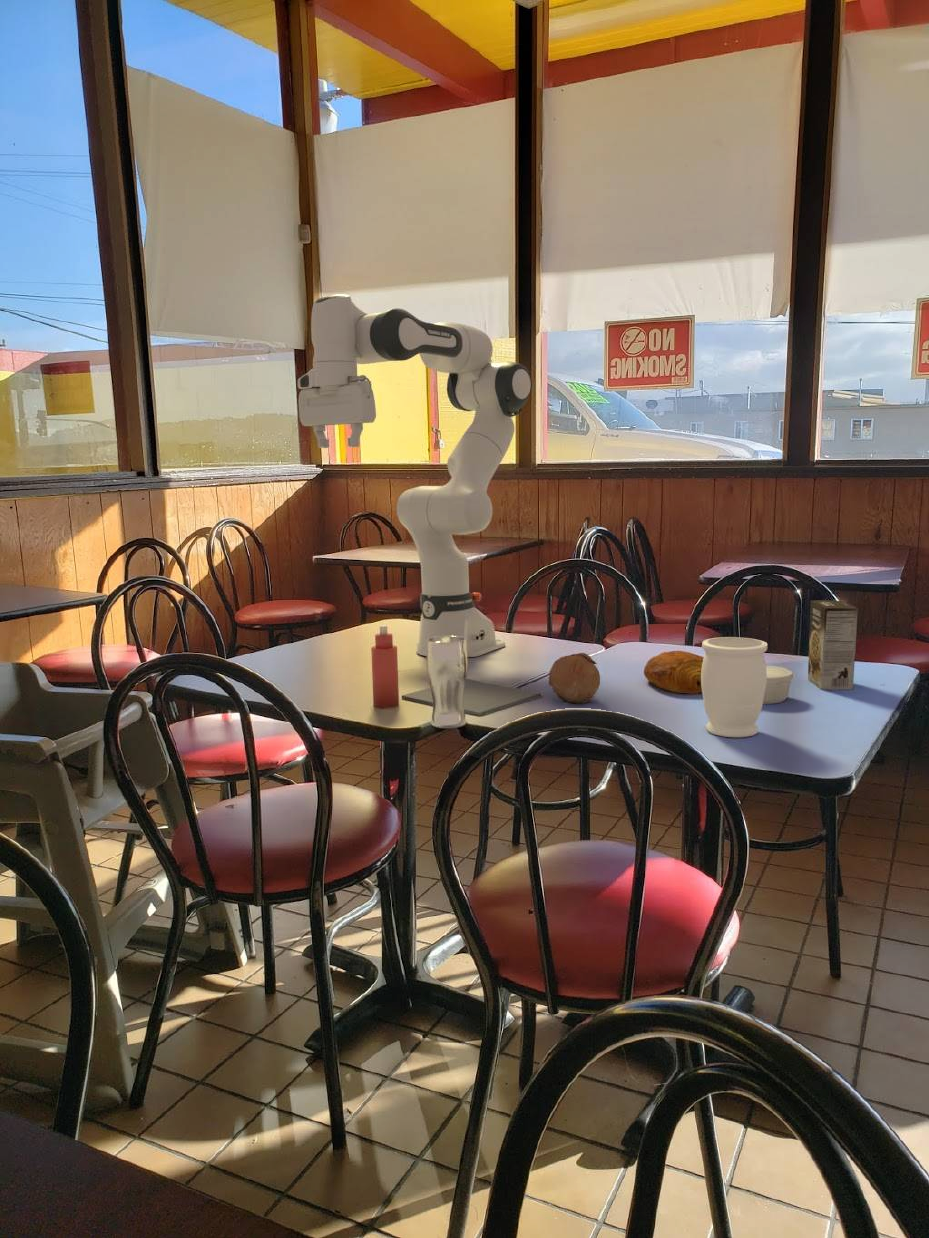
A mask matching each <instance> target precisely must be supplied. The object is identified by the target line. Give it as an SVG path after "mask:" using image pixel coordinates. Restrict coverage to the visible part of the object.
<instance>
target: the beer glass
mask: <svg viewBox="0 0 929 1238" xmlns="http://www.w3.org/2000/svg"><path fill="white" fill-rule="evenodd" d="M426 670H427V671H426V672H427V677H428V683H429V688H431V693H432V699H433V705H432V712H431V713H432V714H431V720H430V725H431V726H433V727H434V728H438V729H457V728H461V727H463V726H465V725H466V724H467V719H466V715H465V714H466V713H464V706H463V699H464V691H465V685H466V679H468V678H467V677H468V657H467V649H466V639H465V638H464V637H461V636H436V637H431V638H429V639H428V646H427V656H426Z"/></svg>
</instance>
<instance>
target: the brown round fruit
mask: <svg viewBox="0 0 929 1238" xmlns="http://www.w3.org/2000/svg"><path fill="white" fill-rule="evenodd" d="M597 664H598V663H597V662H596V661H595V660H594V659H593V658H592V657H591V656H590V655H589V654H587V653H585V652H579V653H573V654H570V655H569V654H568V655H564V656H561V657H559V658H558V659H556V660H555V661H554V662H553V664H552V665H551V668H550V669H549V675H548V684H549V687H550V686H551V689H552V692H554V693H555V695H556V696H557V698H558V699H560V700H561V701H563V702H564V703H565V702H566V703H567V702H568V703H571V702H574V703H575V702H581V703H583V702H586V703H587V701H590V700H591V699H593V698H594V697H595V694H596V693H597V691H598V689H599V686H600V683H601V674H600V671H599V669H598V667H597V666H596V665H597ZM575 704H576V703H575Z"/></svg>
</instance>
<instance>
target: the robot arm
mask: <svg viewBox="0 0 929 1238" xmlns="http://www.w3.org/2000/svg"><path fill="white" fill-rule="evenodd" d="M310 317H311V318H310V319H311V321H310V323H311V324H310V326H311V327H310V329H311V330H310V331H311V333H310V334H311V343H312V346H313V350H314V351H313V352H314V353H313V359H312V368H311V369H309V370H308V372H306V373H305V374H304V375H302V376H301V377H299V378H298V379H297V388H298V389H299V390H300V391H299V394H298V414H299V420H300V423H301V425H302V426H304V427H312V428H313V430H312V432H314V435H315V438H316V440H317V445H318V448H319V449H327V448H329V447H330V439H328V438H327V436H326V434H325V432H326V426H337V425H349V426H350V430H351V434H350V437H347V446H348V447H349V448H359V446H360V437H361V435H362V432H363V430H364V425H363V424H371V423H374V422H375V420H376V417H377V411H376V410H377V409H376V401H375V395H374V392H373V389H372V387H373V386H372V381H371V380H370V379H369V377H367V375H364V374H361V375H358V364H359V365H369V364H375V363H385V362H399V361H401V362H402V361H403V362H404V361H409V359H411V358H414V357H415V356H417V355H419V356H420V360H421V361H422V362H423V365H424V366H425V367H426V368H428V369H430V370H432V371H436V372H440V373H445V374H448V377H447V381H446V394H447V398H448V400H449V402H450V404H451V405H452V407H453V408H455V409H457V410H461V411H464V412H473V411H474V412H475V413H474V418H473V419H472V420H473V421H472V423H471V424H470V425H469V427H468V428H467V429H466V431H464V433H463V435H462V436H461V438H460V440H459V441H458V442H457V444H456V445H455V447H454V449H453V450H452V451H451V454H450V455H449V457H448V459H447V465H446V466H447V470H448V473H449V475H450V480H449V481H448V482H447V483H446V484H444V485H420V486H416V487H413V488H412V487H411V488H410V489H406V490H405V491H404V492H402V493H401V494H400V496H399V497H398V500H397V504H396V515H397V520H398V521H399V522H400V523H401V525H402V526H403V527H404V528H405V529H406V530H407V531H408V533H409V534H410V536H411V538H412V540H413V543H414V545H415V548H416V551H417V555H418V558H419V563H420V576H421V577H420V578H421V579H420V580H421V593H420V597H419V602H420V603H419V605H420V606H419V608H420V609H421V615H420V622H419V623H420V625H419V635H418V636H419V637H418V643H417V645H416V649H417V650H416V654H418V655H420V656H425V657H427V646H428V639H429V638H431V637H436V636H461V637H464V638H465V639H466V649H467V658H474V657H475V658H477V657H479V656H482V655H484V654H487V653H490V652H493V651H495V650H498V649H500V648H503V647H506V642H505V641H504V640H501V639H497V638H496V632H495V631H496V630H495V625H494V623H493V621H492V620H491V619H490V618H488V617H487V616H486V615H484V613H482V612H481V611H480V610H479V609H477V608H476V607H475V606H476V605H475V602H474V601H476V602H480V601H481V600H482V598H483V596H482V593H481V592H476V591H475V592H474V591H473V592H472V593H471V592H470V591H469V590H470V580H469V579H470V577H469V575H470V574H469V560H468V558H467V556H466V555H465V554H464V553H463V552H462V551H461V550H460V549H459V548H458V547H457V545H456V542H455V540H454V537H453V535H457V536H458V535H459V536H462V535H464V536H465V535H471V534H476V533H480V532H483V531H484V530H485V529H486V528H487V527H488V526H489V525H490V522H491V521H492V518H493V517H492V516H493V504H492V501H491V498H490V496H489V495H488V493H487V491H488V486H489V484H490V482H491V480H492V478H493V476H494V475H495V472H496V471H497V469H498V467H500V464H501V462H502V461H503V459H504V458H505V455H506V454H507V452H508V449H509V448H510V445H511V443H512V440H513V437H514V434H515V423H514V420H513V418H512V417H516V416H518V415H519V414H520V413H521V412H522V411H523V408H524V406H525V405H526V404H527V402H528V400H529V397H530V395H531V393H532V387H533V383H532V377H531V375H530V374H531V373H530V372H529V369H527V366H525V365H523V364H522V363H519V362H514V361H505V362H498V361H497V362H493V360H492V357H493V351H494V348H493V344H492V340H491V338H490V337H489V336H488V334H487V333H486V332H484V331H483V330H480V329H478V328H476V327H473V326H470V325H467V324H462V323H455V322H449V321H444V322H435V323H431V322H425V321H423V320H420V319H418V318H417V317H416V316H415V315H413V314H412V313H410V312H409V311H407V310H405V309H404V308H392V309H389V310H385V311H382V312H376V313H371V314H368V313H366V312H364V311H362V309H360V308H358V306H356V305H355V303H354V302H353V300H352V297H351V296H350V295H348V294H344V293H343V294H334V295H330V296H329V295H328V296H323V297H319V298H317V299H316V300H315V301H314V302H313V305H312V309H311V316H310ZM324 431H325V432H324Z"/></svg>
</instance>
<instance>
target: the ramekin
mask: <svg viewBox="0 0 929 1238" xmlns="http://www.w3.org/2000/svg"><path fill="white" fill-rule="evenodd" d="M766 672H767V681H766V690H765V694H764V698H763V705H768V704H769V705H771V704H779V703H782V702H785V701H786V699H788V696H789V692H790V687H791V684H792V683H791V682H792V680H793V678H794V673H793V671H792V670H789V669H788V668H785V667H783V666H782V667H781V666H776V665H767V664H766Z"/></svg>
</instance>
